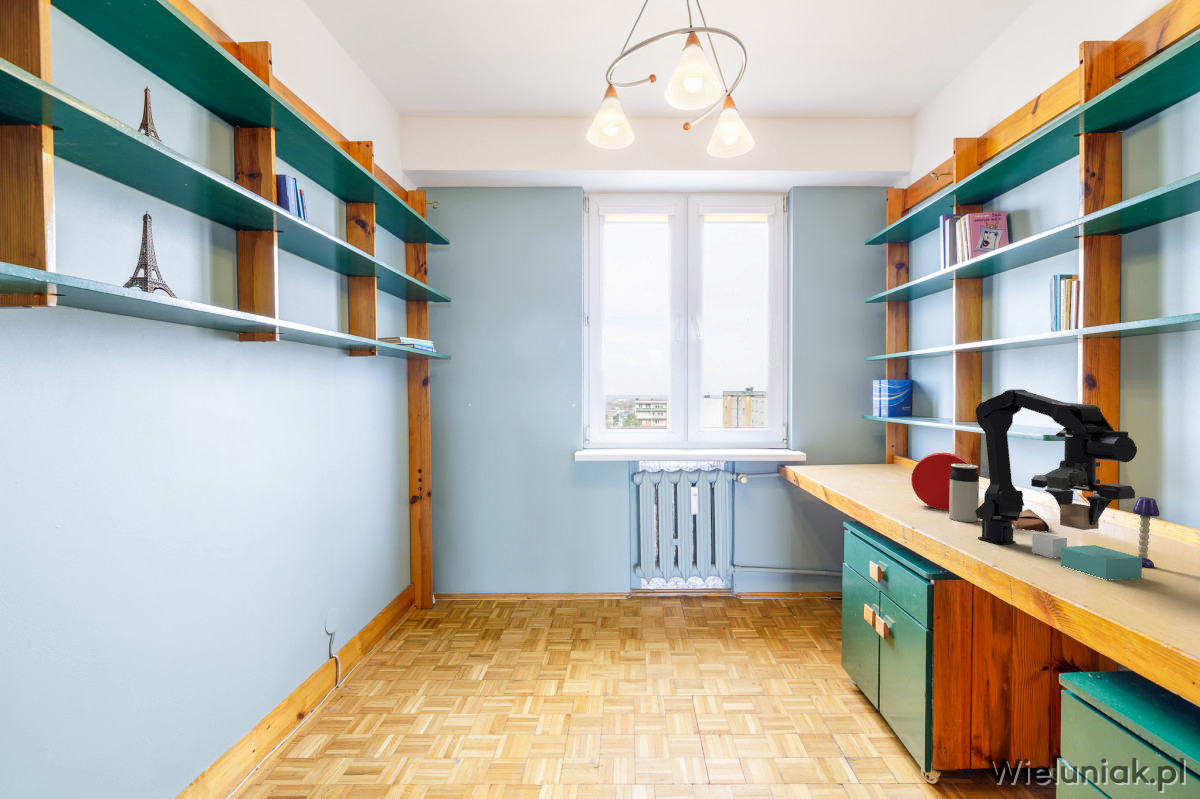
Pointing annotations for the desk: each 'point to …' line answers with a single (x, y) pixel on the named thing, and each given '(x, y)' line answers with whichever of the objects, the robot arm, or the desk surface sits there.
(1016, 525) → the sunglasses case
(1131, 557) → the teal base block
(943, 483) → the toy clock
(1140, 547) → the toy lamp
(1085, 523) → the walnut cube
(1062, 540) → the grey cube
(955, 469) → the travel mug
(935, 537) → the desk surface
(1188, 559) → the desk surface
